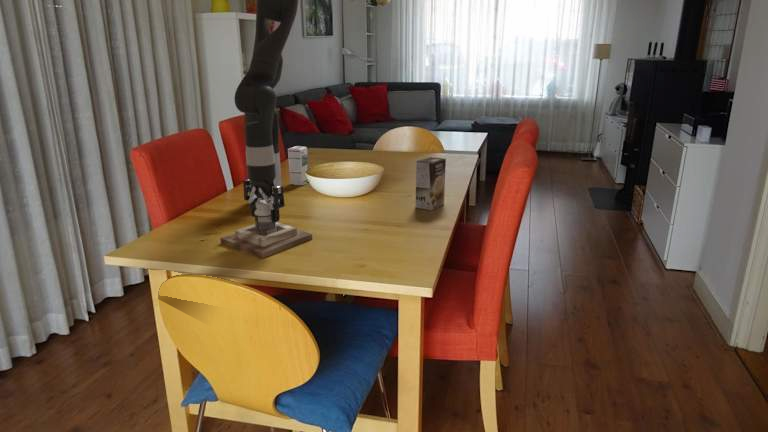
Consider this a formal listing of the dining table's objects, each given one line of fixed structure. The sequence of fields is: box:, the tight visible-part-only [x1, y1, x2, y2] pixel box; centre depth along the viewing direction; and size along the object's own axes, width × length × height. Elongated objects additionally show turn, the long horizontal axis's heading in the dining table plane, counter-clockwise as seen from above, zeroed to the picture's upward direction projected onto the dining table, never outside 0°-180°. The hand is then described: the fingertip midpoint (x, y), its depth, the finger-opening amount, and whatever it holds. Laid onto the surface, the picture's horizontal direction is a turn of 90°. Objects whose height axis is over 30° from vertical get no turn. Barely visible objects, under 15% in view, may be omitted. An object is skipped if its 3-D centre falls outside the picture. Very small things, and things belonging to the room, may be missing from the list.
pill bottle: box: [254, 200, 277, 236], centre depth 147 cm, size 6×6×10 cm
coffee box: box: [415, 156, 447, 211], centre depth 178 cm, size 9×6×16 cm
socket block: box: [219, 221, 313, 259], centre depth 149 cm, size 18×18×4 cm
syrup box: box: [287, 145, 310, 186], centre depth 208 cm, size 6×6×14 cm
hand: (265, 218), depth 147 cm, fingers open, 8 cm apart
